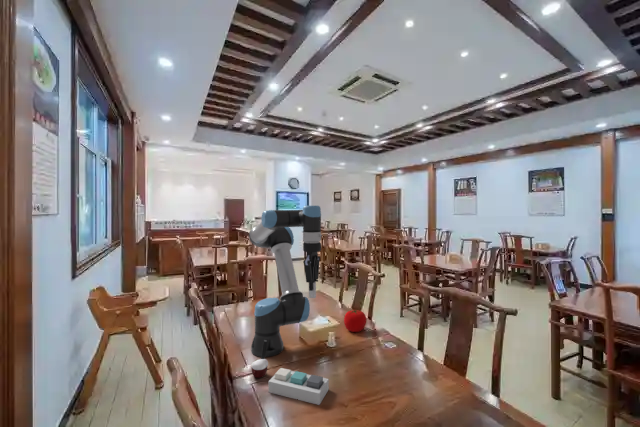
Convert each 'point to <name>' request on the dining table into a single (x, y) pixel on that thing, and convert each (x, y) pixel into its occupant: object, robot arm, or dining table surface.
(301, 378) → the teal key
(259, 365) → the cocoa
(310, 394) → the console
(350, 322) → the red apple
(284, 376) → the ivory key
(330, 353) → the dining table surface
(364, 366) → the dining table surface
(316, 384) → the charcoal key
